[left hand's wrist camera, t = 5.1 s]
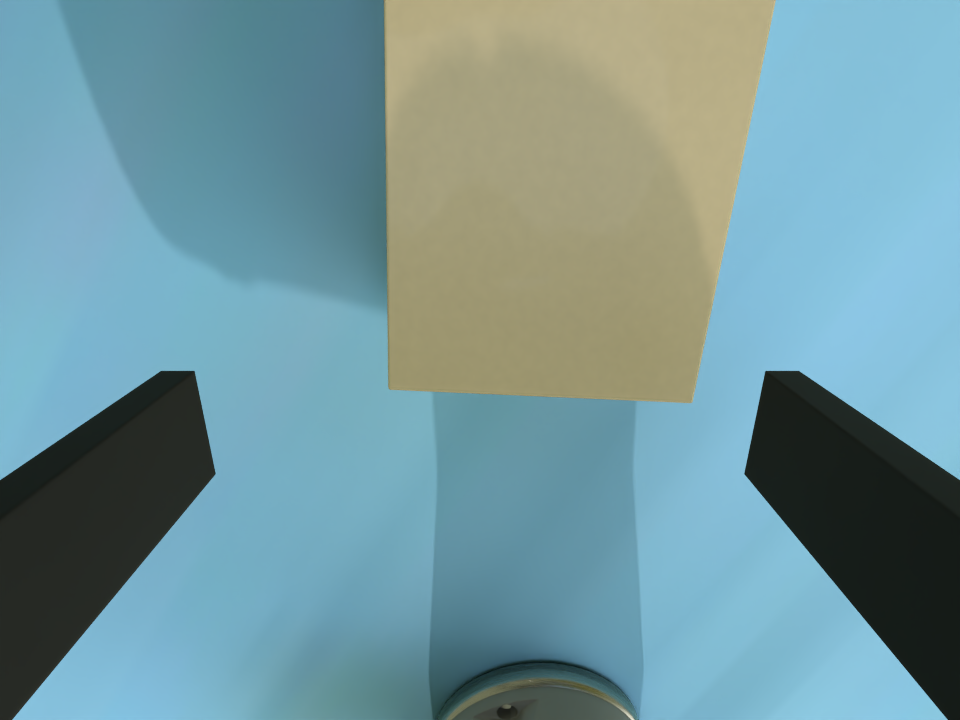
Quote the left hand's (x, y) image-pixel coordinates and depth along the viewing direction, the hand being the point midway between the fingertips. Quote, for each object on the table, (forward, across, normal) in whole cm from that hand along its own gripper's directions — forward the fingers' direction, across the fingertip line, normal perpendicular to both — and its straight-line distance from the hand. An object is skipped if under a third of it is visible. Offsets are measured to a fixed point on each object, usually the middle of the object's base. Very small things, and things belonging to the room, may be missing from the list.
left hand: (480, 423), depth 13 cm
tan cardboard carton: (+16, -3, -8) cm, 18 cm away
